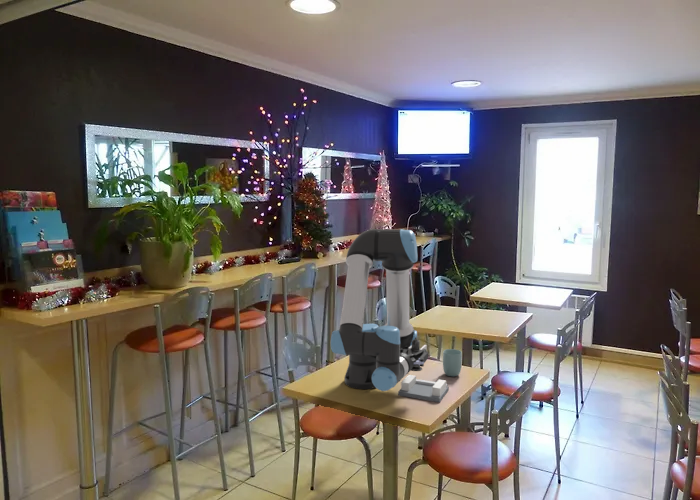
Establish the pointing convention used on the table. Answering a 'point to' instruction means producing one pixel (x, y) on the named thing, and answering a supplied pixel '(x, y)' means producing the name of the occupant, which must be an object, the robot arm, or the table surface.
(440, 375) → the table surface
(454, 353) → the cup
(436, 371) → the table surface
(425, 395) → the rail board
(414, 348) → the salt shaker
